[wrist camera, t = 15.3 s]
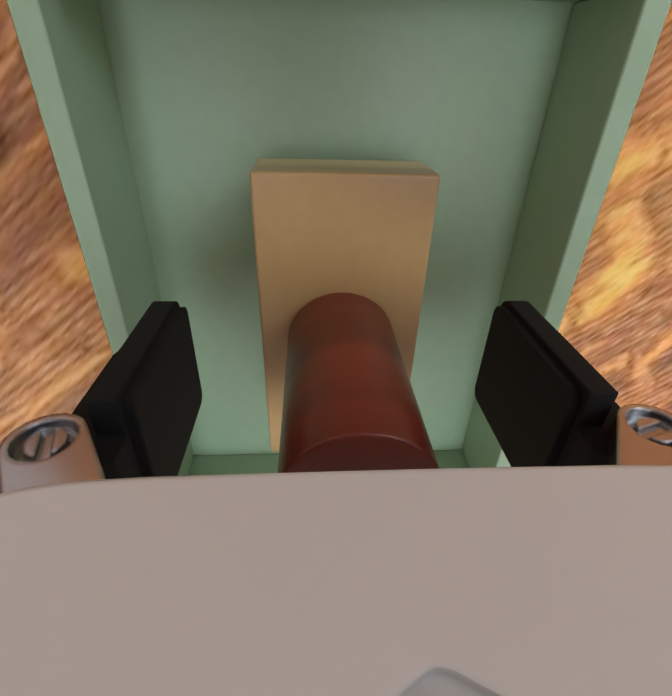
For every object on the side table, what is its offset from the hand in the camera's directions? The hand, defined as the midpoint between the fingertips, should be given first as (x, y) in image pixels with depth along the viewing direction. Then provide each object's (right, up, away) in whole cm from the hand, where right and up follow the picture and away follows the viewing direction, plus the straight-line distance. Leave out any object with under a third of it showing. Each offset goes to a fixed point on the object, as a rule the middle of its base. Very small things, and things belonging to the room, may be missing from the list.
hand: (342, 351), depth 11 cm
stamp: (0, +2, +4) cm, 4 cm away
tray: (0, +3, +4) cm, 5 cm away
